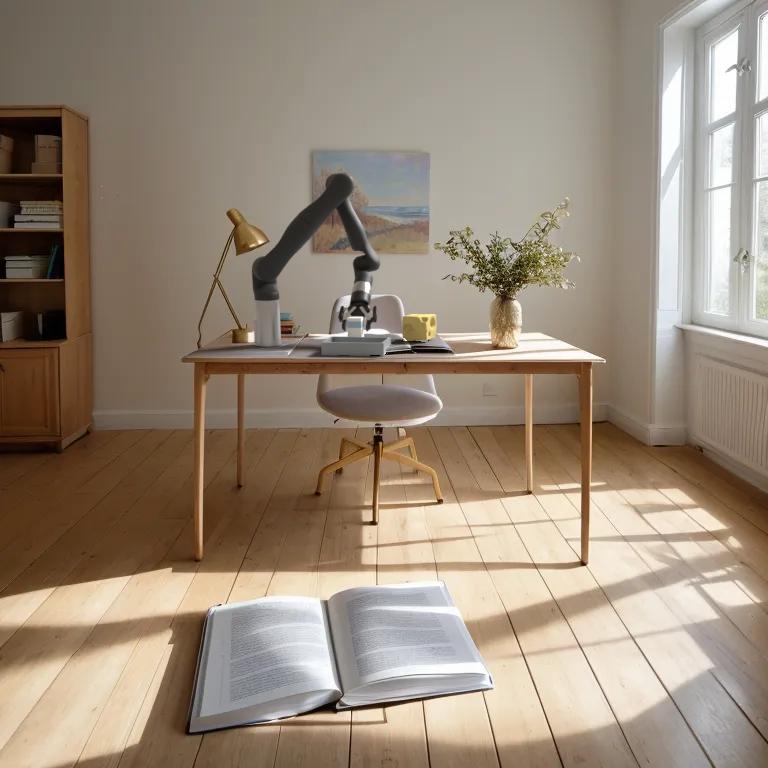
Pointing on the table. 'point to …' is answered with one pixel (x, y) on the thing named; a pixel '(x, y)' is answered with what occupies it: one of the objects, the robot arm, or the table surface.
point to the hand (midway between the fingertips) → (355, 329)
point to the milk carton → (355, 326)
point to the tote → (355, 346)
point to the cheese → (419, 327)
